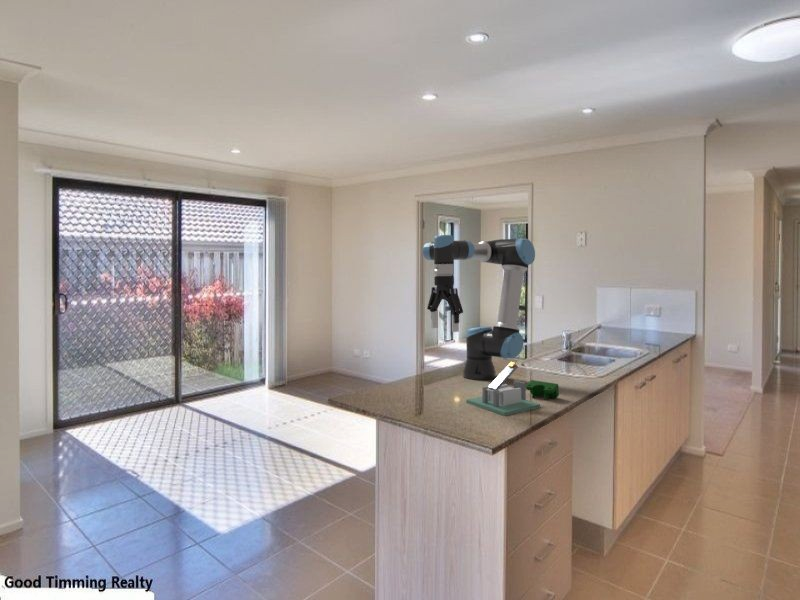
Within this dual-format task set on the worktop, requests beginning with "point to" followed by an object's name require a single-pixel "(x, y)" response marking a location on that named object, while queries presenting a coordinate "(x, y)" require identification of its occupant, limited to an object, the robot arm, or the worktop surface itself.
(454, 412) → the worktop surface
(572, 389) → the worktop surface
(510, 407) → the board
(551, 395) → the clamp
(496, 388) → the grey flat bar
